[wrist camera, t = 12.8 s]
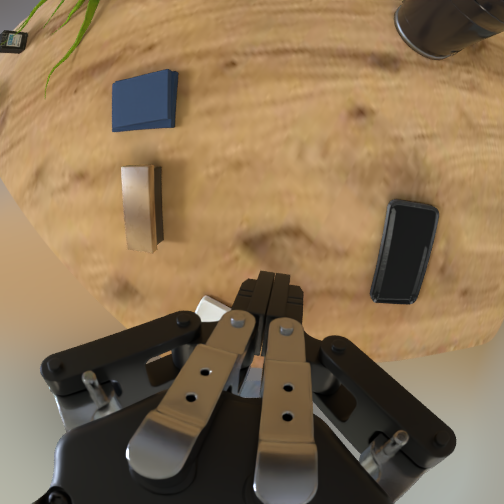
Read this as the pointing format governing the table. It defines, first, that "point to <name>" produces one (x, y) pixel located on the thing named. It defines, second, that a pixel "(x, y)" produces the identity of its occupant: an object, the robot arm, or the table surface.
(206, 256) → the table surface
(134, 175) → the tan two-tone block
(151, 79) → the folded cloth
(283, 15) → the table surface
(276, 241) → the table surface
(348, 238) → the table surface
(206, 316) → the phone case
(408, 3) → the robot arm
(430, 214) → the phone
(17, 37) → the ink cartridge
